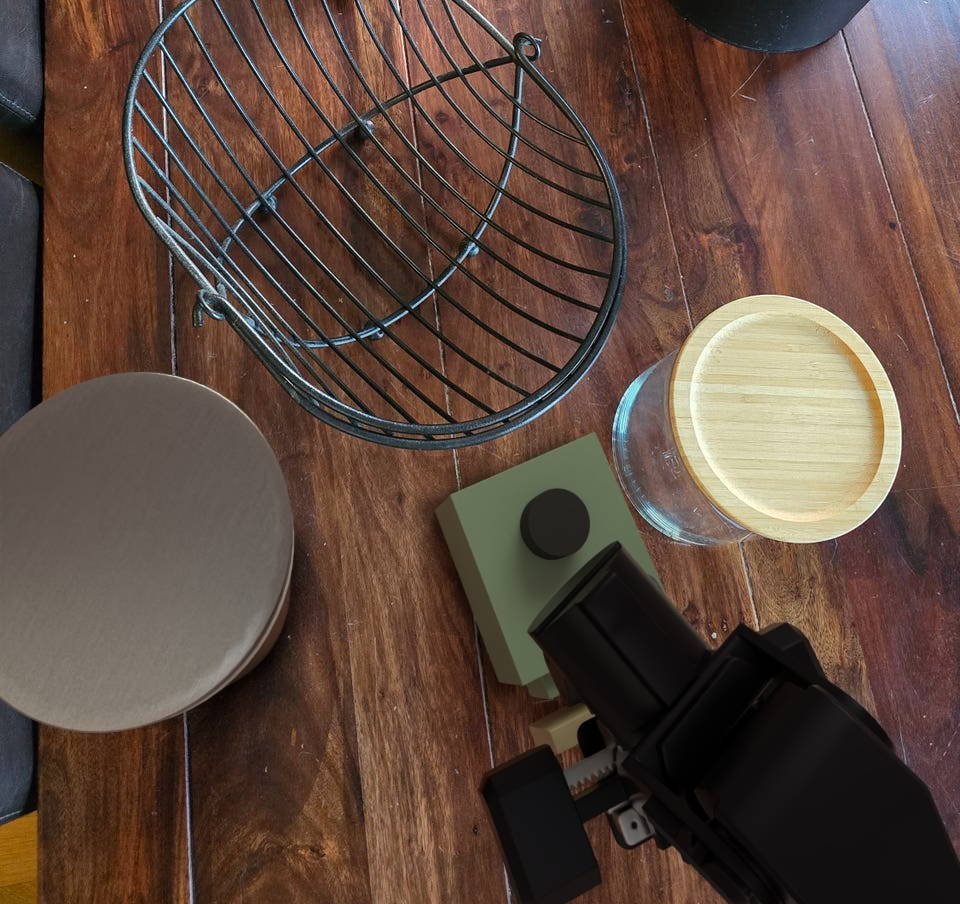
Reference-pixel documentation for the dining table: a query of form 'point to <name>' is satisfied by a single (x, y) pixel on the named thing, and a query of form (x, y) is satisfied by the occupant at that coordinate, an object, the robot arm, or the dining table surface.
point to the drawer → (556, 718)
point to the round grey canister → (137, 552)
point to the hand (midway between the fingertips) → (624, 746)
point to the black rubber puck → (555, 524)
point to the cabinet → (511, 565)
